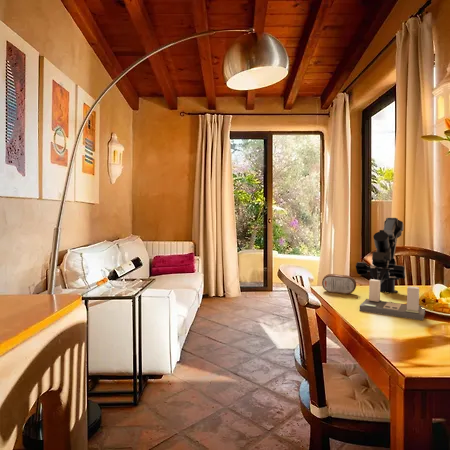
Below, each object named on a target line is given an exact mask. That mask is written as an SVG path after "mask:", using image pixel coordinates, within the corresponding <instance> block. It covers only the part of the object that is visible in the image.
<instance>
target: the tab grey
mask: <svg viewBox="0 0 450 450" xmlns="http://www.w3.org/2000/svg"><path fill="white" fill-rule="evenodd" d="M406 293H407V294H406V304H407V310H413V311H418V310H419V306H420V286H411V285H408V286H407V288H406Z"/></svg>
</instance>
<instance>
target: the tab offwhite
mask: <svg viewBox="0 0 450 450" xmlns="http://www.w3.org/2000/svg"><path fill="white" fill-rule="evenodd" d="M368 282H369V283H368V285H369V287H368V288H369V289H368V299H369V300H370V301H377V302H379V301H380V300H381V291H380V280H374V278H373V279H372V278H370V279H369V281H368Z"/></svg>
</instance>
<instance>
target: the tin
mask: <svg viewBox="0 0 450 450" xmlns="http://www.w3.org/2000/svg"><path fill="white" fill-rule="evenodd" d="M321 286H322V288H323V289H324V291H326V292H328V293H333V294H343V295H349V294H350V295H351V294H352V293H354V292H355V290H356V288H357V282H356V279H355V278H353V277H352V276H350V275H345V274H336V273H329V274H327V275H325V276H324V277H323V278H322V282H321Z"/></svg>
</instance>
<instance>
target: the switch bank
mask: <svg viewBox="0 0 450 450" xmlns="http://www.w3.org/2000/svg"><path fill="white" fill-rule="evenodd" d="M421 307H423V306H422V305H419V310H418V311H413V310H407V303H399V302H391V301H384V300H381V299H380V301H379V302H377V301H370V300H369V298H366V299H365V300H364V301H363V302H362V303H361V304H360V305H359V311H360V312H365V313H370V314H371V313H373V314H379V315H384V316H385V315H386V316H390V317H392V316H393V317H397V318H405V319H411V320H416V321H422V322H423V321H424V318H425V315H426V312H425V309H422V308H421Z"/></svg>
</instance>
